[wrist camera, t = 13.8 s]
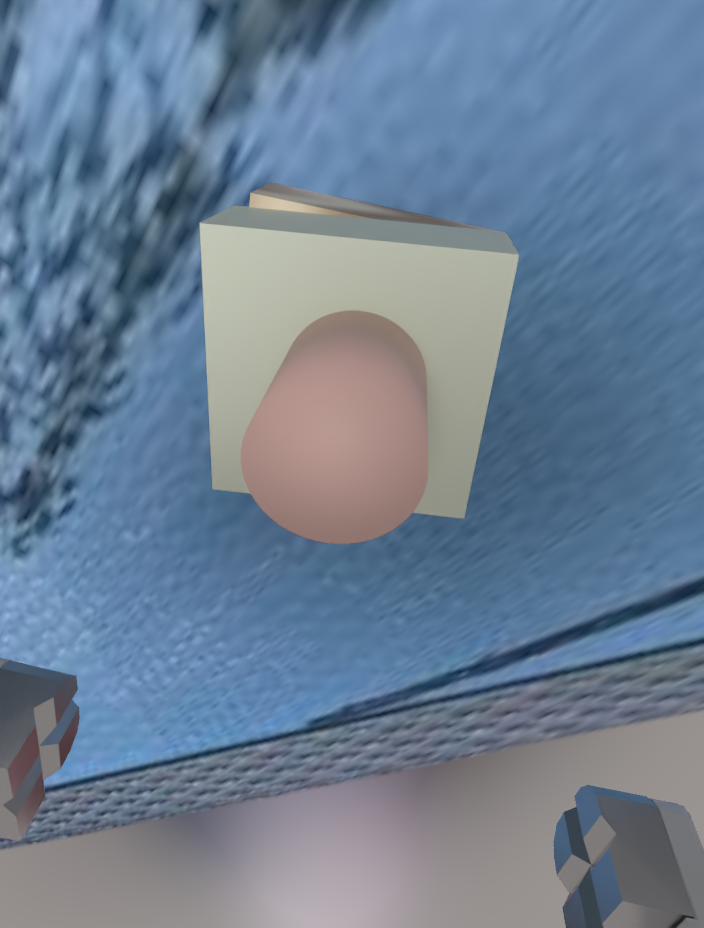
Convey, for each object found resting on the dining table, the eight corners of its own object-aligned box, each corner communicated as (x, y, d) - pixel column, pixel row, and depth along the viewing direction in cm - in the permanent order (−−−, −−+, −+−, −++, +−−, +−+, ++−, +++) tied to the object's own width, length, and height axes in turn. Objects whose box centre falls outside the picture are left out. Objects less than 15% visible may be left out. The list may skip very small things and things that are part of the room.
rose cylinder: (443, 327, 20) (450, 404, 15) (408, 456, 23) (404, 559, 17) (294, 296, 20) (249, 362, 15) (276, 428, 23) (233, 524, 17)
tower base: (504, 230, 26) (517, 249, 22) (443, 434, 31) (446, 475, 28) (273, 181, 26) (250, 192, 22) (250, 394, 31) (229, 430, 27)
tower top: (503, 231, 22) (519, 254, 19) (458, 466, 27) (464, 518, 24) (233, 205, 23) (199, 222, 19) (238, 441, 28) (212, 489, 24)
